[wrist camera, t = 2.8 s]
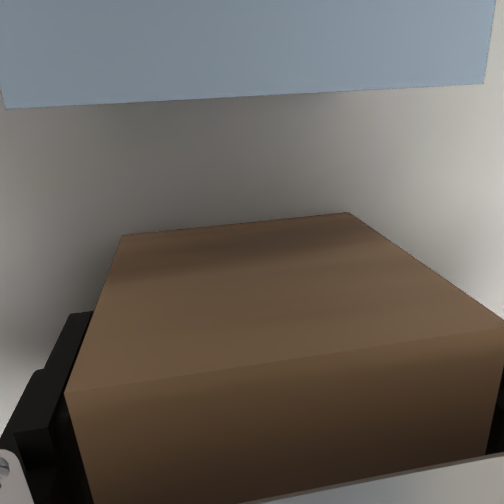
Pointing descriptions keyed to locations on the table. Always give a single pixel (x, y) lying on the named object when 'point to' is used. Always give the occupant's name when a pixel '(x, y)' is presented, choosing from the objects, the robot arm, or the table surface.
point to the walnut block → (276, 364)
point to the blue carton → (234, 48)
